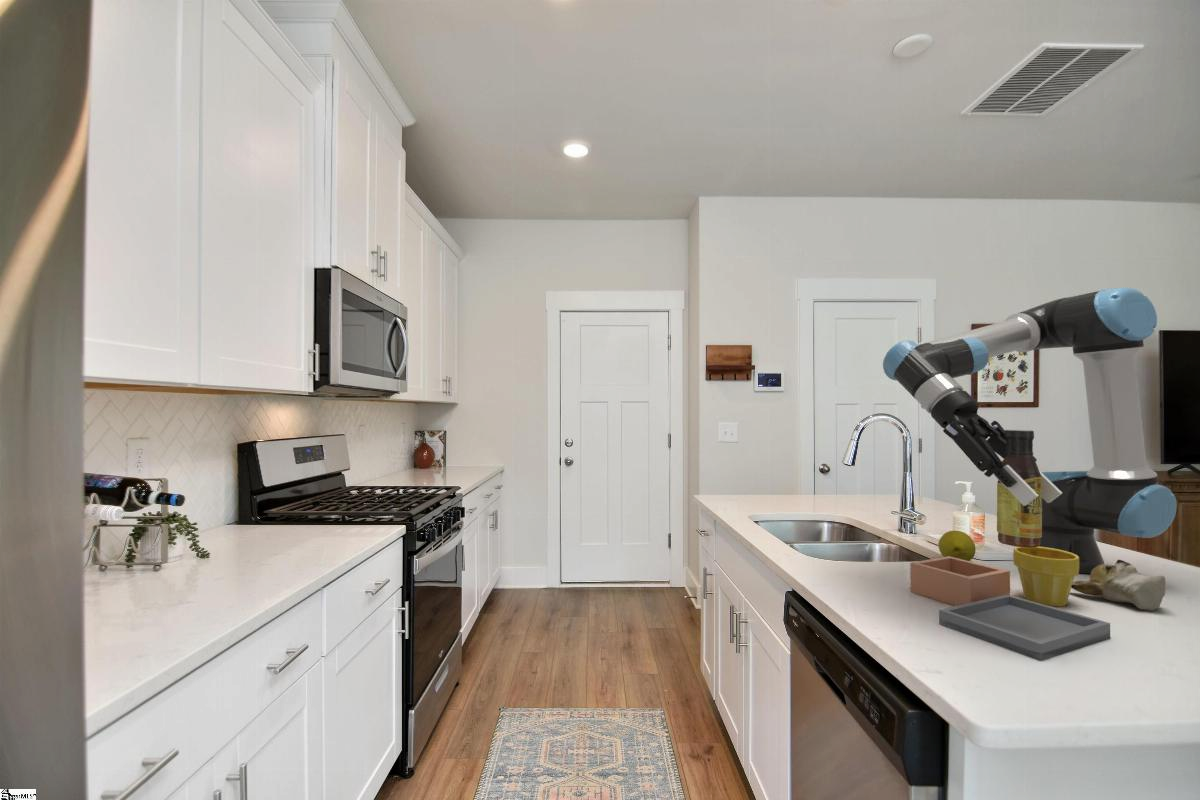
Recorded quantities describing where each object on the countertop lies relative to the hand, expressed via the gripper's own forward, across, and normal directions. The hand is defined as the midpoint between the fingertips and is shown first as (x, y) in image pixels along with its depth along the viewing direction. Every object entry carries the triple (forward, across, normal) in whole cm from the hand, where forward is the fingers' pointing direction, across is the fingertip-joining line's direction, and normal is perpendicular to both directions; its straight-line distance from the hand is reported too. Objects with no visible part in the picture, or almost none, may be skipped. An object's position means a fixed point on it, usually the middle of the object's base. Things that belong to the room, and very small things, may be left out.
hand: (1043, 499), depth 94 cm
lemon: (-8, -32, -42) cm, 53 cm away
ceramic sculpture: (+14, -34, -20) cm, 42 cm away
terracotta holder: (+3, -8, -30) cm, 31 cm away
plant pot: (+9, -21, -24) cm, 33 cm away
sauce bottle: (+4, 0, -9) cm, 9 cm away
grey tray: (+14, 0, -19) cm, 23 cm away
